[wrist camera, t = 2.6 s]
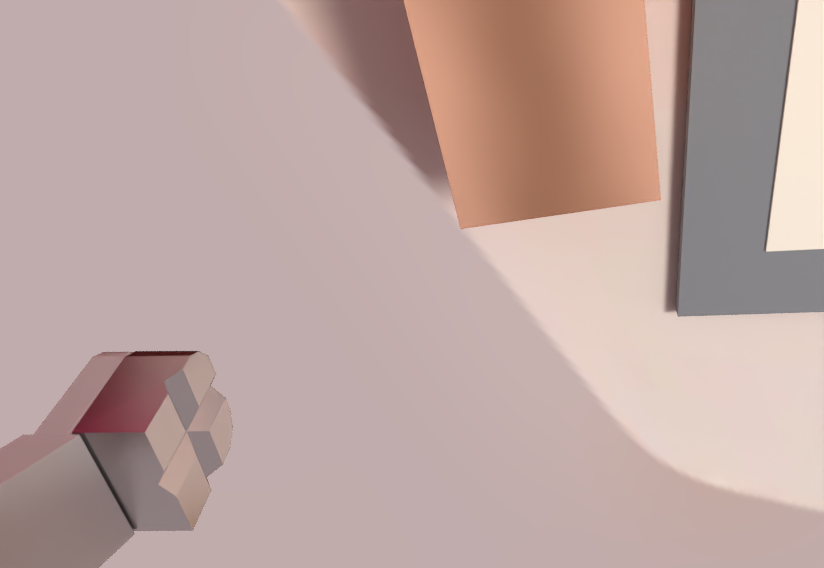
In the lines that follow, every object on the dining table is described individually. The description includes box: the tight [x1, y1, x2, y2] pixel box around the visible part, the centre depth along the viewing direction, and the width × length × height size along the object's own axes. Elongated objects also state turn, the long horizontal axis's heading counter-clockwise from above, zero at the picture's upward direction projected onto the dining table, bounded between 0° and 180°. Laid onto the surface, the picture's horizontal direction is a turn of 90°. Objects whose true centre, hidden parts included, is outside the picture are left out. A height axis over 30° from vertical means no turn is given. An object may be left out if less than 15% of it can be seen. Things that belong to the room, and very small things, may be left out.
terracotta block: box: [403, 0, 661, 229], centre depth 22 cm, size 6×10×6 cm, turn 15°
